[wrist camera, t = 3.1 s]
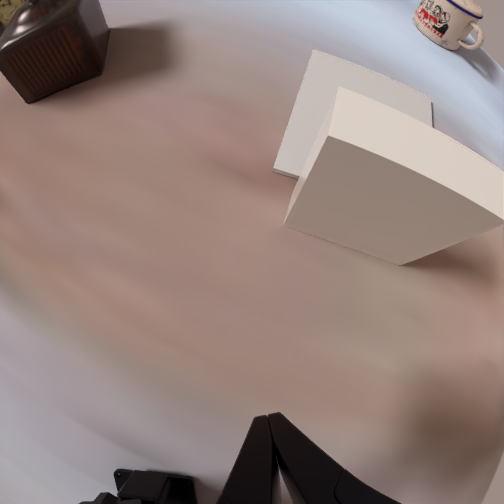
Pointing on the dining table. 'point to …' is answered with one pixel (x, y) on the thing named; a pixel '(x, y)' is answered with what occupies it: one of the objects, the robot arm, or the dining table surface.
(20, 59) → the dark brown boxy piece
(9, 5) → the alarm clock
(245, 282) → the dining table surface
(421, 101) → the mat
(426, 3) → the teacup with lid
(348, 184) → the beige rectangular block
